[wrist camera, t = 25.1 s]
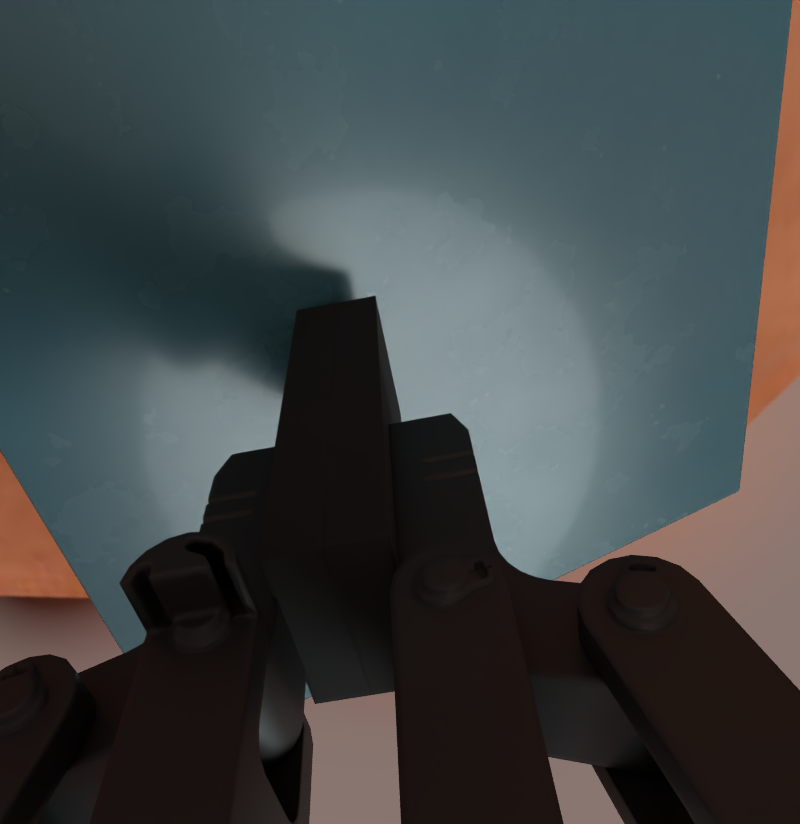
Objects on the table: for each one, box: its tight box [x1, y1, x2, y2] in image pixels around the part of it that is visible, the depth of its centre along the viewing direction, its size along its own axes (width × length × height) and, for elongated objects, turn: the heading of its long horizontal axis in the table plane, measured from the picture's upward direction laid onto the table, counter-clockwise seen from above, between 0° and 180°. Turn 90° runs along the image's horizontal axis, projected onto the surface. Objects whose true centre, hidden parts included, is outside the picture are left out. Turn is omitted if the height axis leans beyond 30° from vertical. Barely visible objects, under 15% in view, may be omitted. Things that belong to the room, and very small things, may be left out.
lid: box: [0, 0, 792, 699], centre depth 15 cm, size 18×19×1 cm
